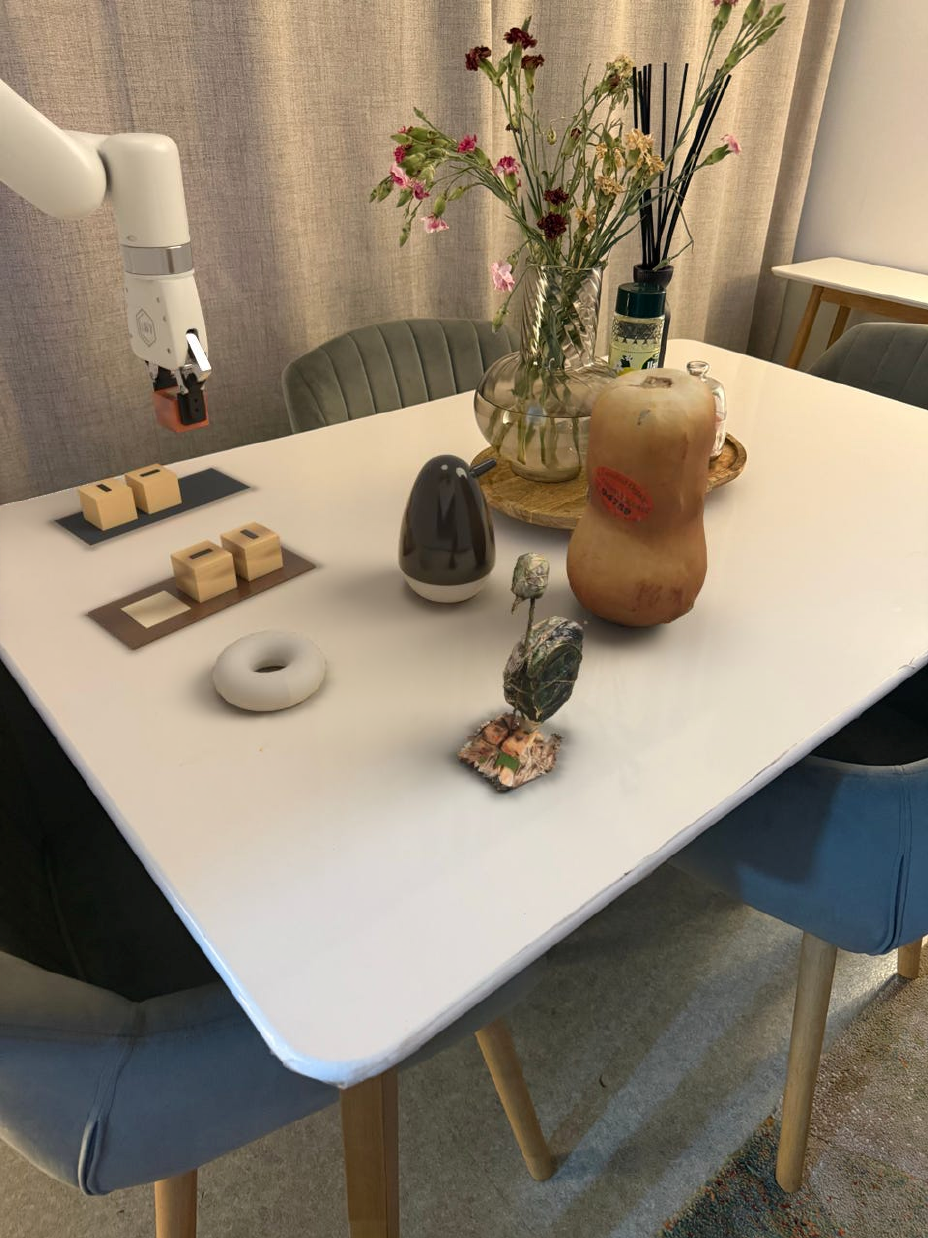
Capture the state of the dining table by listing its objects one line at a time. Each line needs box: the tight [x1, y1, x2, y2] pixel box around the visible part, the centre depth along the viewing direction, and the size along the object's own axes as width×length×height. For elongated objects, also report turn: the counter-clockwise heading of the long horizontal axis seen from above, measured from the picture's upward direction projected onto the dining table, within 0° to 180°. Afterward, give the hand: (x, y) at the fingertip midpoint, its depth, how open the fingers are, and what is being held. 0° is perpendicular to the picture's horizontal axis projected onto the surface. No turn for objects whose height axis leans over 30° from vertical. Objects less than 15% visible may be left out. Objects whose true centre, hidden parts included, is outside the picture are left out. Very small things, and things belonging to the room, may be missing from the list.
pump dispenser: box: [397, 454, 498, 604], centre depth 90 cm, size 10×10×15 cm
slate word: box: [54, 462, 251, 546], centre depth 109 cm, size 9×22×5 cm, turn 137°
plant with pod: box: [457, 552, 588, 791], centre depth 68 cm, size 8×11×20 cm
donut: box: [212, 630, 327, 712], centre depth 80 cm, size 10×3×10 cm
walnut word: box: [87, 521, 317, 651], centre depth 93 cm, size 9×22×5 cm, turn 137°
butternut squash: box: [565, 367, 717, 629], centre depth 84 cm, size 14×13×25 cm
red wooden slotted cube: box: [151, 386, 210, 434], centre depth 108 cm, size 4×4×4 cm
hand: (182, 415), depth 109 cm, fingers closed on red wooden slotted cube, 4 cm apart
